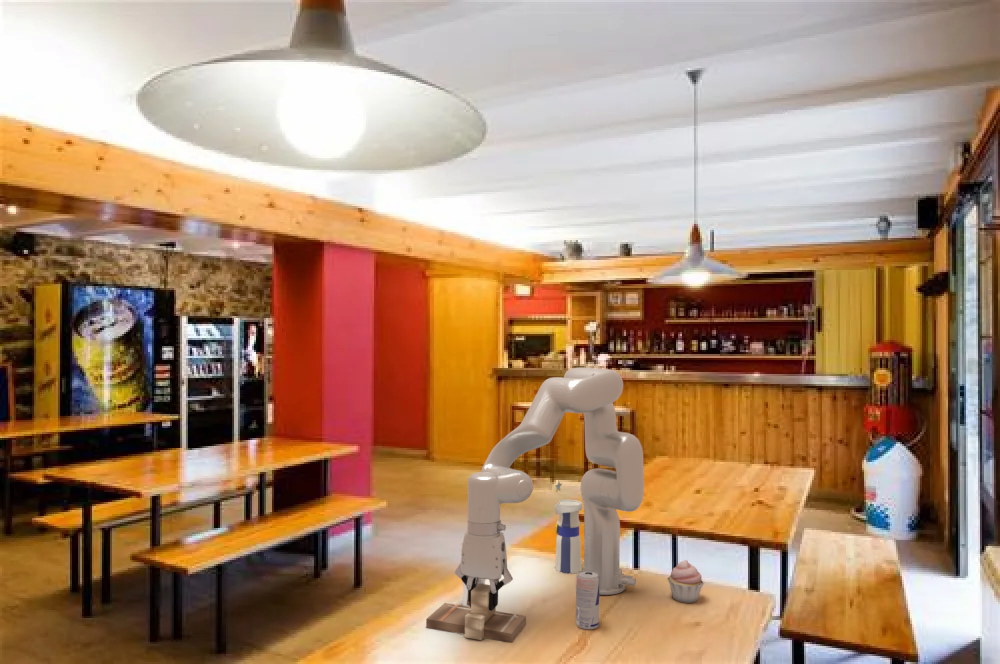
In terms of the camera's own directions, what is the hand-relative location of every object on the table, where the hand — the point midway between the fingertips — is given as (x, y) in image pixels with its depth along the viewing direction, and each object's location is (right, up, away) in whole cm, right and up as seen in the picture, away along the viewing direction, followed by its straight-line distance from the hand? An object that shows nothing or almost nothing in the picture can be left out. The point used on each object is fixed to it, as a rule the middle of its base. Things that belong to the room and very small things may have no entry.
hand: (483, 606), depth 155 cm
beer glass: (-3, -6, +15) cm, 16 cm away
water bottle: (+24, -6, +40) cm, 47 cm away
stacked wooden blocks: (0, -5, 0) cm, 5 cm away
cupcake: (+52, -6, +19) cm, 56 cm away
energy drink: (+24, -6, +3) cm, 25 cm away
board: (-2, -5, +2) cm, 6 cm away
